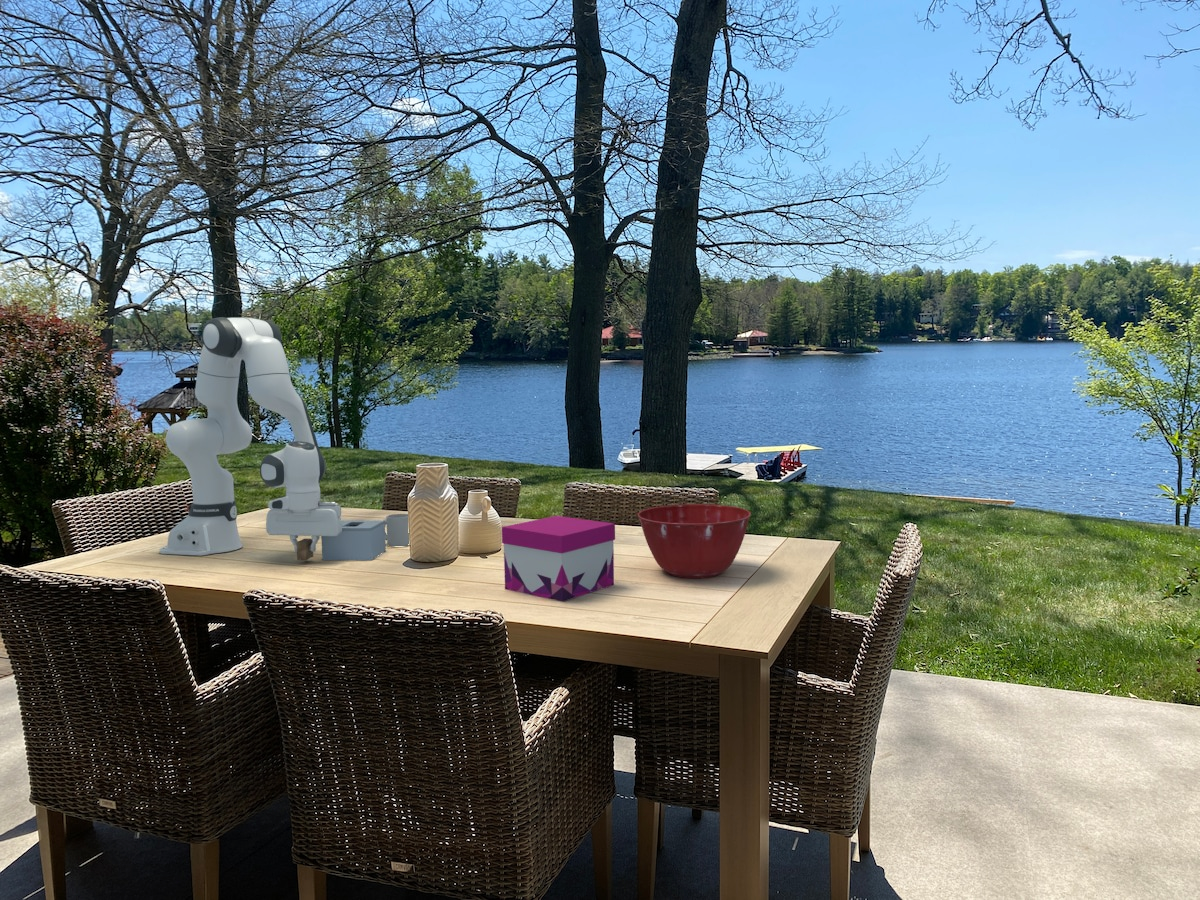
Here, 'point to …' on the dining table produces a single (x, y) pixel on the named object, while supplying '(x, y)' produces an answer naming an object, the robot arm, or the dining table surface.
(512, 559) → the decorative box
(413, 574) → the dining table surface
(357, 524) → the money box
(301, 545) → the tile
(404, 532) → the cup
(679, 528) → the mixing bowl
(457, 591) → the dining table surface
